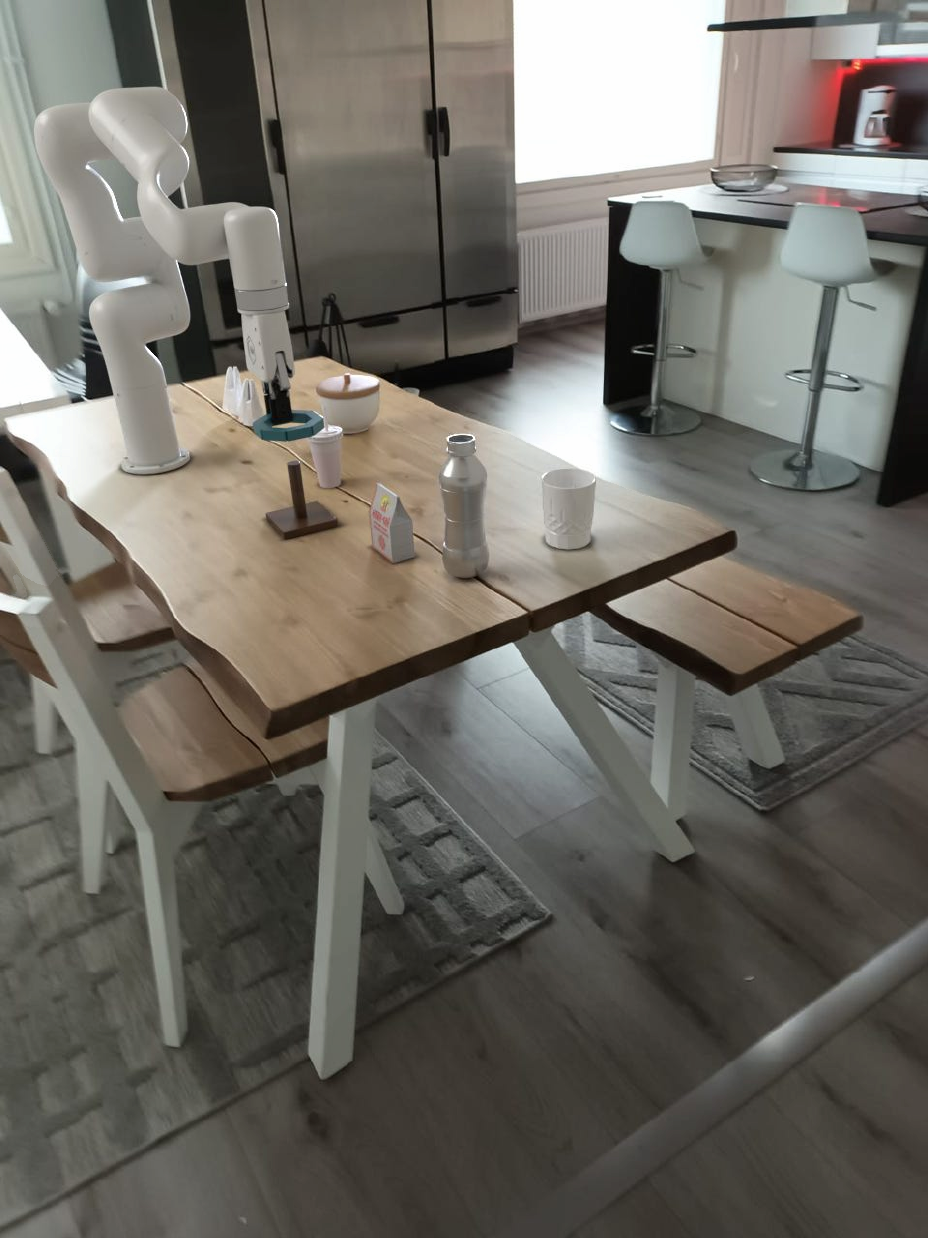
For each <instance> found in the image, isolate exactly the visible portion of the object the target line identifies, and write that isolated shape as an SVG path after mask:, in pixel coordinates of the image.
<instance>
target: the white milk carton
mask: <svg viewBox="0 0 928 1238" xmlns="http://www.w3.org/2000/svg"><path fill="white" fill-rule="evenodd" d="M374 489H375V490H374V494H373V497H372V500H371V504H370V506H369V510H368V516H369V527H370V528H369V529H370V538H371V546H372V549H374V550H376V551H377V552H378V553H379V554H380V555H381V556H383V557H384V558H385V559H387V560H388V561H389V562H390V563H391V564H396V563H399V562H402V561H407V560H409V559H412V558H415V557H416V552H415V542H414V527H413V519H412V518H411V516H410V515H409V513H408V511H407V510H406V508H405V507H404V505H403V502H402V501H401V497H400V496H399V495H397V494H396V493H394V492H393V491H391V490H390V489H388V488H387V487H386V486H384V485H383V484H381V483H380V482H378V483H377V482H376V483H375V488H374Z"/></svg>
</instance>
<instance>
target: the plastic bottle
mask: <svg viewBox="0 0 928 1238" xmlns="http://www.w3.org/2000/svg"><path fill="white" fill-rule="evenodd" d="M446 453H447V455H448V457H447V458H446V460H445V461H444V462H443V464H442V466H441V468H440V471H439V474H438V485H439V488H440V493H441V498H442V503H443V513H444V539H443V540H444V541H443V546H442V554H441V555H442V556H441V560H442V563H443V568H444V569H445V571H446V572H447V573H448V574H449V575H451V576H453V577H456V578H460V579H461V578H463V579H466V578H473V577H477V576H481V575H482V574H483V573H484V572H485V571H486V570H487V568H488V566H489V563H490V551H489V550H490V549H489V545H488V541H487V537H486V536H487V535H486V526H485V513H484V512H485V500H486V499H485V498H486V491H487V483H488V472H487V469H486V467H485V465H484V464H483V463H482V461H481V460H480V459H479V458H478V457H477V456H476V454H475V453H477V446H476V439H475V436H474V435H472V434H466V433H459V434H453V435H450V436H448V437H446Z"/></svg>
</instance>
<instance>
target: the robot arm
mask: <svg viewBox="0 0 928 1238" xmlns="http://www.w3.org/2000/svg"><path fill="white" fill-rule="evenodd" d="M187 131H188V119H187V115H186V111H185V110H184V107H183V105H182V103H181V102H180V101H179V99H178V98H177V97H176V95H174V94H173V93H172V92H171V91H169V90H168V89H166V88H163V87H160V86H142V87H141V86H140V87H119V88H118V87H117V88H111V89H107V90H103V91H102V92H99V93H98V94H97V95H96V96H95V97H94V98H93V99H92V100H91V102H72V103H63V104H57V105H54V106H50V107H48V108H46V109H43V110H42V111H41V112H40V113H39V114H38V115H37V117H36V119H35V122H34V126H33V136H34V137H33V138H34V145H35V150H36V153H37V156H38V159H39V161H40V163H41V166H42V168H43V170H44V172H45V173H46V175H47V177H48V179H49V180H50V182H51V185H52V186H53V187H54V190H55V191H56V193H57V195H58V197H59V199H60V202H61V206H62V207H63V211H64V215H65V218H66V221H67V223H68V227H69V230H70V233H71V236H72V239H73V242H74V245H75V249H76V251H77V255H78V257H79V260H80V263H81V266H82V269H83V270H84V272H85V274H86V275H87V277H89V278H90V279H91V280H92V281H93V282H97V283H112V282H118V281H119V282H120V281H123V280H124V281H125V280H129V279H134V278H140V277H143V278H144V280H145V283H144V284H140V285H139V284H138V285H133V286H127V287H122V288H117V289H113V290H109V291H106V292H104V293H102V294H99V295H98V296H97V297H95V298H94V299H93V300H92V302H91V304H90V305H89V309H88V319H89V323H90V326H91V328H92V331H93V333H94V335H95V338H96V340H97V343H98V345H99V347H100V350H101V354H102V356H103V359H104V361H105V363H104V364H105V365H106V369H107V374H108V377H109V382H110V386H111V390H112V394H113V398H114V403H115V407H116V411H117V416H118V420H119V424H120V429H121V433H122V437H123V442H124V446H125V450H126V455H124V456H123V457H122V458H121V460H120V462H119V463H120V467H121V469H122V470H123V471H124V472H126V473H129V474H133V475H154V474H161V473H165V472H170V471H173V470H177V469H178V468H181V467H183V466H184V465H186V464H187V463H188V462H189V461H190V459H191V456H190V452H189V451H188V449H187V448H184V447H182V446H180V444H179V438H178V434H177V429H176V423H175V419H174V413H173V409H172V403H171V400H170V394H169V389H168V385H167V379H166V374H165V371H164V367H163V365H162V363H161V362H160V360H159V359H158V357H156V356H155V355H154V353H152V352H151V350H150V349H149V348H148V347H147V344H148V343H152V342H155V341H158V340H163V339H166V338H171V337H174V336H177V335H180V334H182V333H184V332H186V330H187V329H188V328H189V325H190V322H191V310H190V303H189V300H188V296H187V293H186V290H185V285H184V282H183V278H182V275H181V271H180V267H179V264H178V263H180V264H181V265H186V266H197V265H202V264H206V263H211V262H212V263H213V262H218V261H223V260H229V264H230V271H231V277H232V282H233V283H232V284H233V289H234V296H235V302H236V309H237V313H239V314H241V328H242V338H243V339H242V340H243V348H244V355H245V364H246V368H247V370H248V371H249V373H251V374H252V375H253V376H254V377H256V378H257V379H259V380H260V382H261V388H262V393H263V399H264V400H263V401H264V407H265V415H266V414H270V413H271V419H272V423H273V424H274V425H277V424H282V423H287V422H291V421H292V420H293V417H292V410H293V409H292V404H291V395H290V394H291V393H290V390H291V386H292V385H291V383H290V379H293V377H295V375H296V372H295V371H296V370H295V369H296V368H295V360H294V352H293V346H292V341H291V335H290V331H289V330H290V329H289V324H288V320H287V314H286V310H288V309H290V301H289V294H288V285H287V279H286V271H285V264H284V257H283V256H284V255H283V249H282V243H281V236H280V235H281V233H280V227H279V222H278V221H279V220H278V216H277V214H276V212H275V211H274V210H273V209H272V208H270V207H267V206H249V205H247V204H244V203H241V202H236V201H230V202H222V203H214V204H205V205H199V206H192V207H187V208H179V207H178V206H177V205H175V204H174V203H173V202H172V200H171V199H170V198H169V197H170V196H172V194H173V193H175V192H176V191H177V190H178V189H179V188H180V187H181V185H182V184H184V182H185V180H186V179H187V176H188V173H189V168H190V160H189V156H188V153H187V151H186V150H185V148H184V147H183V146H182V145H181V143H182V142H183V141H184V140H185V137H186V136H187ZM110 161H118V162H119V163H120V164H121V165H122V166H123V167H124V169H126V170H127V172H128V173H129V174H130V175H131V177H132V178H133V179H134V180H135V181H136V182H137V183H138V184H137V191H136V200H137V206H138V210H139V214H140V216H134V217H128V218H123V217H122V216H121V213H120V211H119V208H118V205H117V201H116V198H115V195H114V192H113V190H112V189H111V186H110V185H109V184H108V183H107V181H106V180H105V179H104V178H103V177H102V175H100V174H99V173H98V172H97V171H96V170H95V169H93V168H92V167H91V166H90V165H88V164H89V163H94V162H95V163H96V162H110ZM287 424H288V423H287ZM282 425H283V424H282ZM277 426H278V425H277Z"/></svg>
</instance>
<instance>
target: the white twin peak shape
mask: <svg viewBox="0 0 928 1238" xmlns="http://www.w3.org/2000/svg"><path fill="white" fill-rule="evenodd" d="M221 408H222V410H223V411H225V412H227V413H229V414H231V415H234V416H237V417H238V418H237V421H238V422H241V423H242V425H243V426H246V427H253V422H255V421H256V420H258V419H259V418H261V417H262V416H264V415H265V413H264V408H263V406H262V402H261V399H260V395H259V392H258V388H257V385H256V382H255V380H254V379H253V378H245V379H244V380H243V381H242V379H241V375H240V372H239V369H238V367H237V366H234V365H233V367H232V366H228V367H227V370H226V373H225V383H224V389H223V399H222V407H221Z"/></svg>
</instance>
